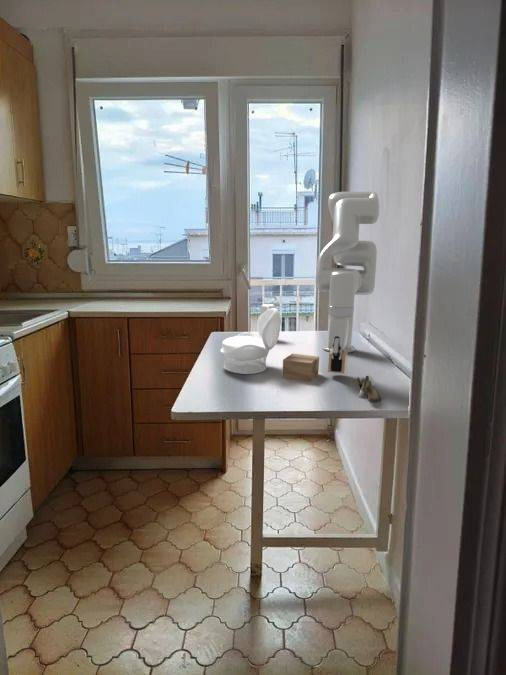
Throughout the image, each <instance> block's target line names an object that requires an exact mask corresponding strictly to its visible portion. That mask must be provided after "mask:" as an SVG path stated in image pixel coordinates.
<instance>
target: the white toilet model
mask: <svg viewBox="0 0 506 675" xmlns="http://www.w3.org/2000/svg"><path fill="white" fill-rule="evenodd" d="M271 311H272V312H271ZM273 311H274V312H273ZM269 313H270V314H269ZM268 315H269V316H270V315H271V316H270V317H269V316H268ZM267 316H268V317H267ZM267 318H269V319H267ZM274 318H275V319H274ZM261 319H262V320H263V321H262V320H261ZM266 319H267V320H268V321H267V320H266ZM261 321H262V322H261ZM264 321H265V322H264ZM260 322H261V323H260ZM262 323H264V325H263V324H262ZM281 323H282V316H281V313H280V312H279V310H278V309H277V308H276V309H275V308H271V309H269V310H266V311H265V312H264V313H262V314H261V315H260V314H259V317H258V319H257V321H256V329H257V332H258V335H259V337H258V336H256V335H255V334H253V333H252V332H247V331H244V332H241V333H239V334H236V335H235V336H230V337H226V338H225V339H224V340H223V341H222V342H221V343H222V345H221V346H222V348H220V349H219V350H220V353H221V354H222V357H223V360H224V365H223V369H224V370H226V371H228V372H231V373H234V374H242V375H250V374H251V375H252V374H258V373H262V372H264V371H265V370H266V369H267V363H266V362H267V361H266V360H267V358H268V355H269V352H270V351H271V350H272V349H274V348H275V346H276V344H277V343H278V340H279V337H280V330H281ZM268 328H269V329H268ZM260 337H261V338H260ZM273 338H274V339H273Z"/></svg>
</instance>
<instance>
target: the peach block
mask: <svg viewBox="0 0 506 675" xmlns="http://www.w3.org/2000/svg"><path fill="white" fill-rule="evenodd" d="M332 351H333V349H332V350H331V351H330V352H329V353H328V366H327V368H328V369H327V372H328V373H336V374H345V373H346V371H347V369H348V367H347V364H348V353H347V352H348V351H344V350H342V355H341V359H342V369H341V372H336V371H331V358H332ZM338 352H339V353H340V351H338Z"/></svg>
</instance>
